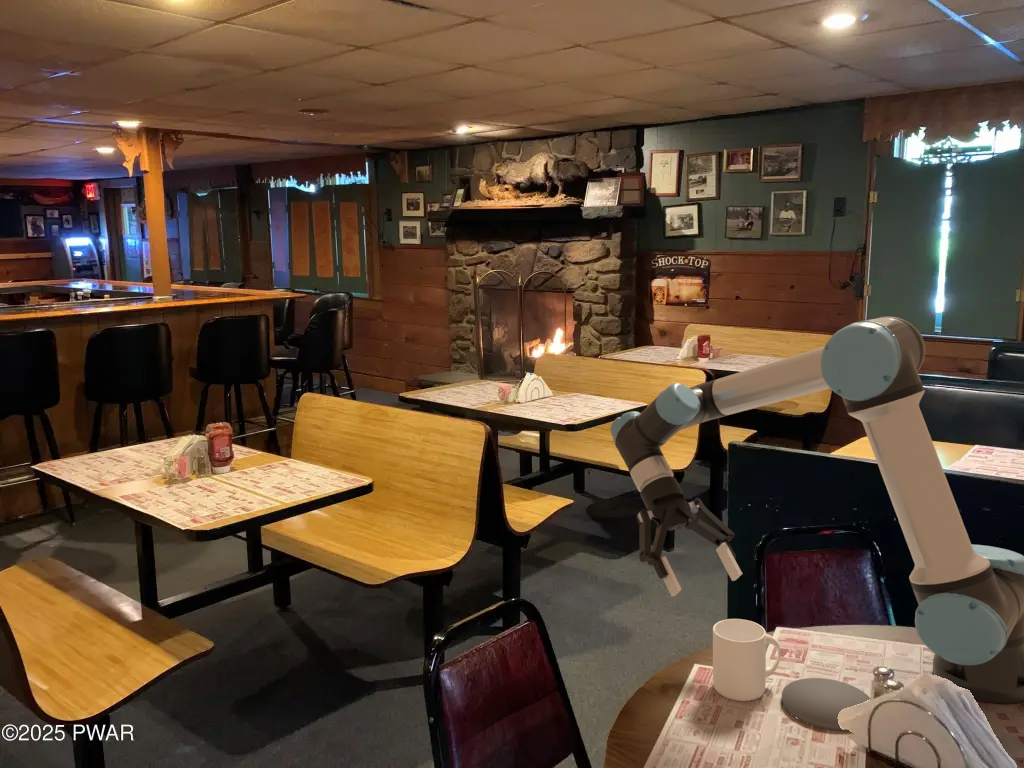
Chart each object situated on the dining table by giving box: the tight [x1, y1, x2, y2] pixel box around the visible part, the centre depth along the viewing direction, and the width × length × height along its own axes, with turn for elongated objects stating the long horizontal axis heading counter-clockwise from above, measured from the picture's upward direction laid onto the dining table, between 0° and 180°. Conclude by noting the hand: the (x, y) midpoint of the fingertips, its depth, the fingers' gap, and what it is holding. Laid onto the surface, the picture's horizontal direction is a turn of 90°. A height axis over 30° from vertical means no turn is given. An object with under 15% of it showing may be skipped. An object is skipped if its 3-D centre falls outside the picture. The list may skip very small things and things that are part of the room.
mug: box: [712, 618, 781, 702], centre depth 137 cm, size 9×12×11 cm
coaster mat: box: [781, 677, 872, 732], centre depth 131 cm, size 14×14×1 cm
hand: (707, 585), depth 145 cm, fingers open, 13 cm apart
